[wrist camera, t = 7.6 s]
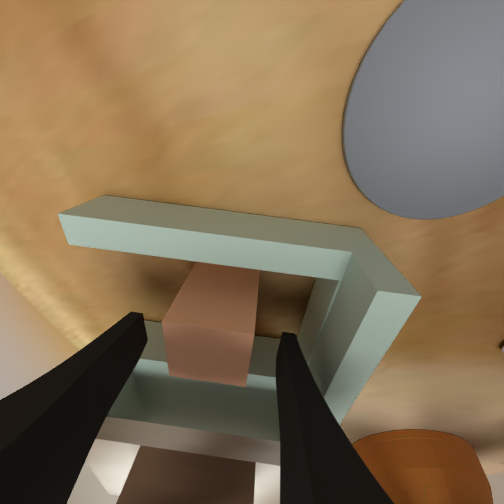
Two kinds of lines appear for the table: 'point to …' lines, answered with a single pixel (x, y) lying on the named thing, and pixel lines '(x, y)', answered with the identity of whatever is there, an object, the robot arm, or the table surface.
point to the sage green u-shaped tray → (264, 348)
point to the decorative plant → (425, 467)
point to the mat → (430, 110)
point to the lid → (183, 465)
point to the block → (212, 324)
